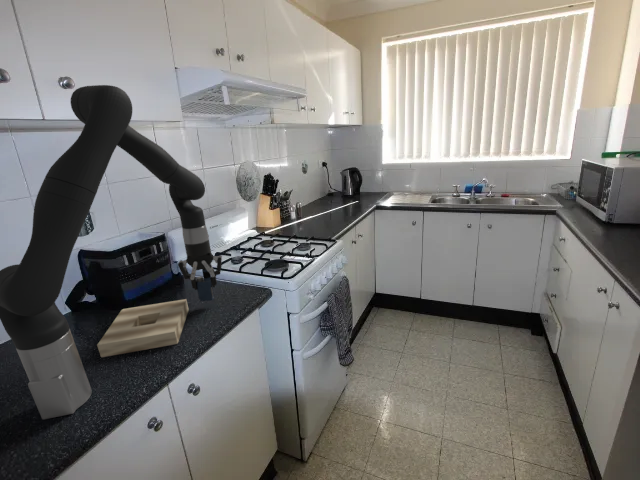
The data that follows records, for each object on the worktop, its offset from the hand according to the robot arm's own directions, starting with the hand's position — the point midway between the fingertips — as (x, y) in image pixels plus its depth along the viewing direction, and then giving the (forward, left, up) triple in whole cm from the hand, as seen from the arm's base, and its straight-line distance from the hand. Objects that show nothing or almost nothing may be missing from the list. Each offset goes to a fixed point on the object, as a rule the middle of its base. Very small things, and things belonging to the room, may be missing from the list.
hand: (205, 287), depth 113 cm
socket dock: (-10, +17, -7) cm, 21 cm away
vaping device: (0, 0, -5) cm, 5 cm away
